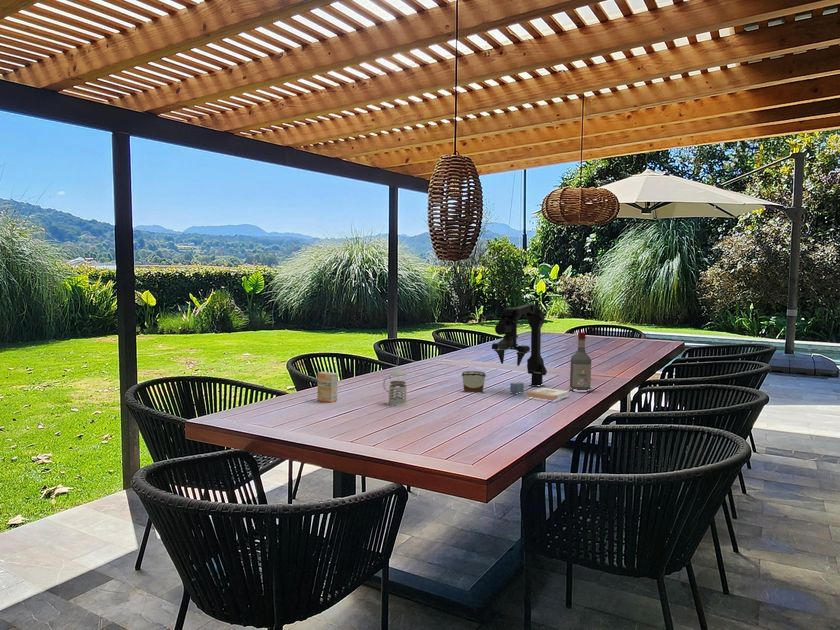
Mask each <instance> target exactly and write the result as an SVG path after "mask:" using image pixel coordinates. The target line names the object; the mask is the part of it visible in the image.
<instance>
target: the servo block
mask: <svg viewBox="0 0 840 630" xmlns="http://www.w3.org/2000/svg"><path fill="white" fill-rule="evenodd" d="M509 385H510V387H509V391H510V392H512V393H519V392H523V393H524V391H525V390H524V389H525V382H520V381H519V382H518V381H513V382H511V383H510V384H509ZM510 392H509V393H510ZM512 393H511V394H512Z"/></svg>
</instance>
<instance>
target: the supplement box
mask: <svg viewBox="0 0 840 630" xmlns="http://www.w3.org/2000/svg"><path fill="white" fill-rule="evenodd" d="M338 375H339V373H337V372H331V371H330V372H329V371H325V370H324V371H318V372H317V391H316V392H317V397H316V399H317V401H319V402H324V403H325V402H326V403H330V404H331V403H334V402H337V401H338V381H339V380H338Z"/></svg>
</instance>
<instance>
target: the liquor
mask: <svg viewBox="0 0 840 630" xmlns="http://www.w3.org/2000/svg"><path fill="white" fill-rule="evenodd" d="M577 334H578V335H577V339H578V341H577V343H578V344H577V351H575V353H574V354H573V355H572V356H571V358H570V366H569V367H570V369H569V371H570V372H569V373H570V375H569V376H570V377H569V388H570V387H571V388H572V389H577V390H588V389H590V390H591V384H592V383H591V381H592V379H591V378H592V358H591V357H590V355H589V354H588V353H587V352H586V334H587V333H586V332H585V331H584V332H580V331H579V332H578V333H577Z"/></svg>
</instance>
